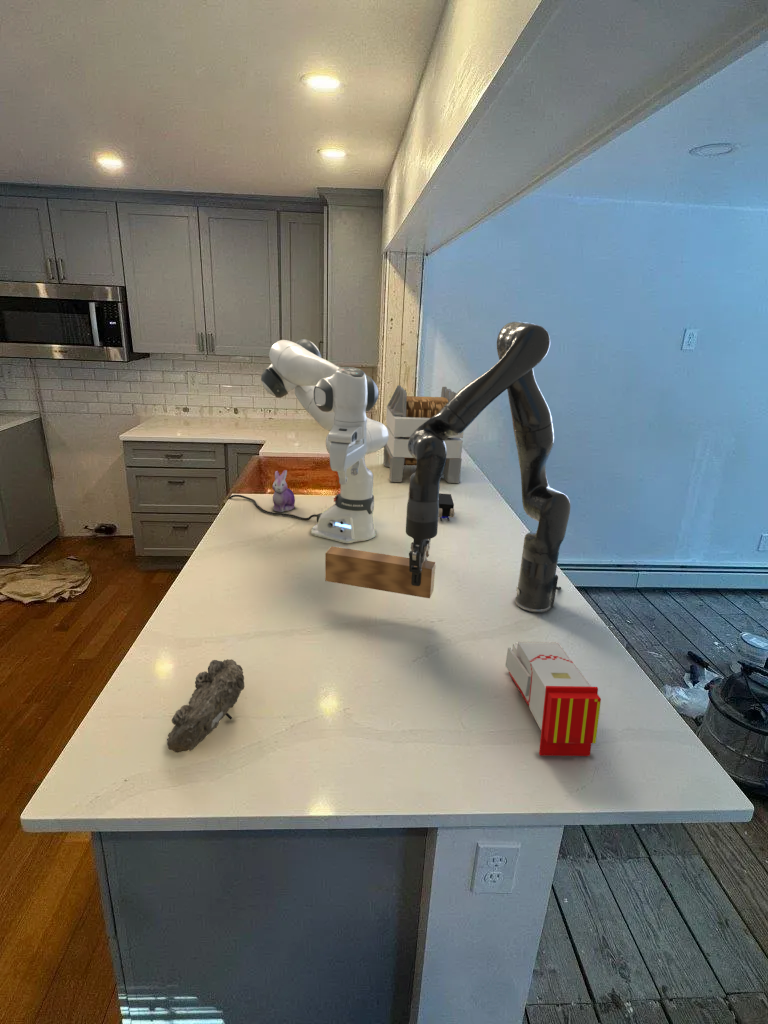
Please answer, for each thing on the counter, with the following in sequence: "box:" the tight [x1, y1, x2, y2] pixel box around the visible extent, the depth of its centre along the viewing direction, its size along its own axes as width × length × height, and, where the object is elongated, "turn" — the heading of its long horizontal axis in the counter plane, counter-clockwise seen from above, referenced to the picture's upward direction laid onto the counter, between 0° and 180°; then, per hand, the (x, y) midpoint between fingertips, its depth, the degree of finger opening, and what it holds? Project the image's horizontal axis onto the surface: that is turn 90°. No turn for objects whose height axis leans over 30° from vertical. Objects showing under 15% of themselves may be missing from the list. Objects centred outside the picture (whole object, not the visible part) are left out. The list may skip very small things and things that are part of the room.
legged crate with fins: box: [383, 384, 465, 484], centre depth 268 cm, size 34×33×41 cm
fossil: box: [166, 658, 245, 754], centre depth 106 cm, size 22×10×15 cm
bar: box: [324, 545, 436, 599], centre depth 142 cm, size 27×4×8 cm, turn 74°
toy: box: [505, 641, 602, 757], centre depth 113 cm, size 12×13×30 cm
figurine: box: [272, 469, 296, 513], centre depth 217 cm, size 9×10×15 cm
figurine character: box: [438, 492, 455, 522], centre depth 217 cm, size 7×8×15 cm
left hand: (349, 479), depth 157 cm, fingers open, 8 cm apart
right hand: (418, 580), depth 139 cm, fingers closed on bar, 4 cm apart
